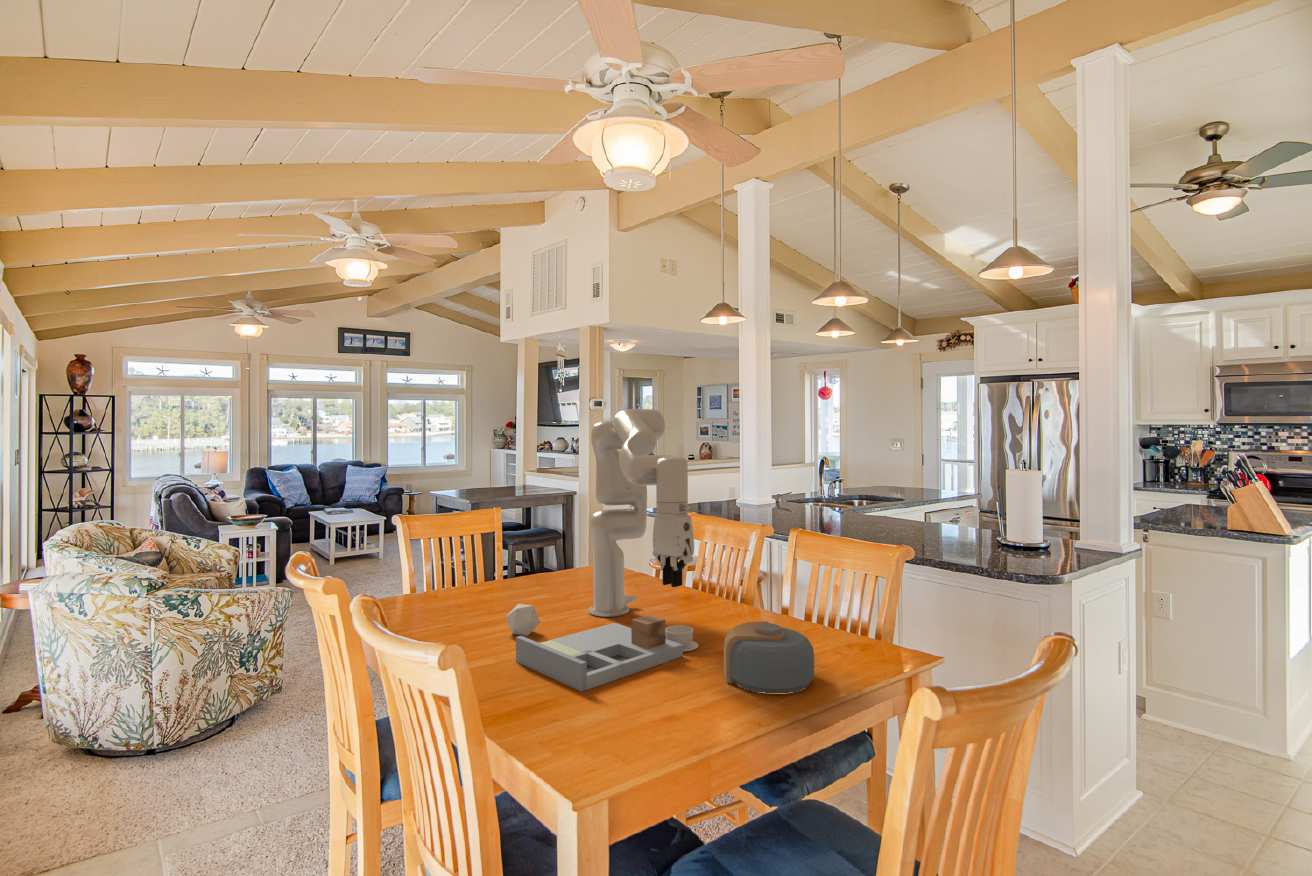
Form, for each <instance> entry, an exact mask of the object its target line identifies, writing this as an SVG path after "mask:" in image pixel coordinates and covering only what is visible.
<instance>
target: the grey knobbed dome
mask: <svg viewBox="0 0 1312 876" xmlns="http://www.w3.org/2000/svg"><path fill="white" fill-rule="evenodd" d="M814 651H815V650H814V646H813V644H812V643H811V642H810V640H809V638H808V636H805V635H804V634H803V633H801V632H800V631H797V630H794V629H790V628H787V627H786V628H785V627H782V626H781V625H779V624H776V623H771V622H769V621H767V620H766V621H750V622H744V623H740V624H738V625H736V626H734V627H733V628H731V629H730V630H728V633H727V635H725V638H724V642H723V678H725V679H724V682H725V681H726V682H725V684H726V683H735V684H734V685H736V686H737V685H739V686H741V687H742V688H745V689H748V690H750V691H754V692H753V693H755V692H765V693H789V692H797V691H800V690H802V689H804V688H806V687H807V686H808V685H809V686H810V684H811V682H812V681H813V680H814V679H815V678H814V677H815V652H814ZM739 686H738V687H739ZM809 686H808V687H809ZM741 687H740V688H741ZM808 687H807V688H808ZM742 688H741V689H742ZM807 688H806V689H807ZM745 689H744V690H745ZM748 690H747V691H748ZM750 691H749V692H750Z"/></svg>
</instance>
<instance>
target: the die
mask: <svg viewBox="0 0 1312 876" xmlns="http://www.w3.org/2000/svg"><path fill="white" fill-rule="evenodd" d="M505 620H506V622H507V624H508V628H509V630H510V632H511V634H512V635H517V636H523V637H528V636H530V634H531V633H532V632H534V630H535V629H536V628H537V627H538V626H539V624H540V623H541V622H540V621H541V620H540V618H539V615H538V613H537V611H536V608H535V606H534V605H532V604H523V603H518V604H517V605H515V607H514V608H513V609H512V610H510V612H509V613H508V614H507V615H506V616H505Z"/></svg>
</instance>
